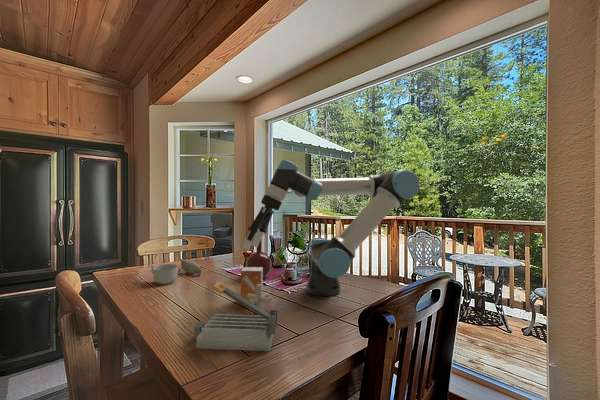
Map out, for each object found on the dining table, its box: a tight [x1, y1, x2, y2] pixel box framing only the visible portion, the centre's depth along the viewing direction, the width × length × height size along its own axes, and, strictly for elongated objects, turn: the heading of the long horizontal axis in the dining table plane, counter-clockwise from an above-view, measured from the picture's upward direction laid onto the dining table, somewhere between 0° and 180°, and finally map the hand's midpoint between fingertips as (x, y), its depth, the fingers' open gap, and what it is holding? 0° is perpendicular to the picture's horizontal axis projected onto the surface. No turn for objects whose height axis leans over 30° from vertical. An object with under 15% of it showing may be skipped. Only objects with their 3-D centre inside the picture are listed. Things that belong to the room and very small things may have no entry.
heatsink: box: [193, 308, 279, 352], centre depth 84 cm, size 23×12×8 cm, turn 87°
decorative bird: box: [177, 258, 202, 277], centre depth 156 cm, size 5×16×8 cm, turn 58°
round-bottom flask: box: [245, 238, 273, 278], centre depth 151 cm, size 13×13×20 cm
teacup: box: [150, 263, 179, 286], centre depth 140 cm, size 14×11×8 cm
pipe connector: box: [247, 284, 272, 309], centre depth 104 cm, size 10×10×10 cm
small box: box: [239, 266, 264, 305], centre depth 115 cm, size 8×6×13 cm
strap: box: [212, 280, 270, 320], centre depth 84 cm, size 20×5×1 cm
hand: (249, 247), depth 112 cm, fingers open, 13 cm apart
